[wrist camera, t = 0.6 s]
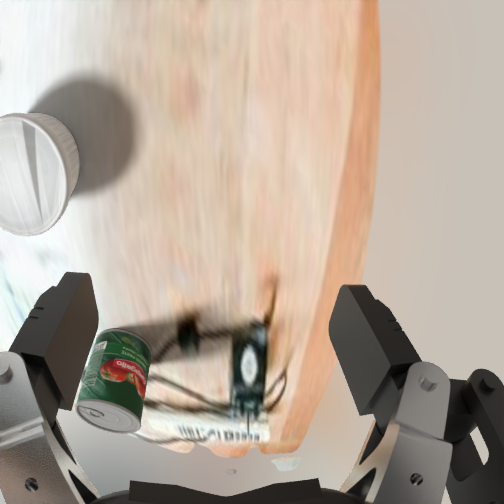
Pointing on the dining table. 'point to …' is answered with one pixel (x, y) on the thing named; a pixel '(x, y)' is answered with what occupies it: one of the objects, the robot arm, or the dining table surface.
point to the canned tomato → (115, 382)
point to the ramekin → (35, 172)
